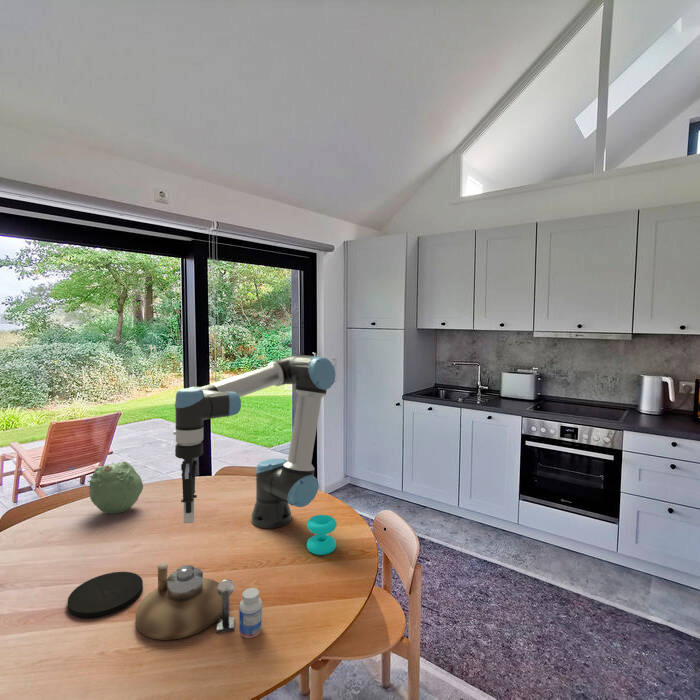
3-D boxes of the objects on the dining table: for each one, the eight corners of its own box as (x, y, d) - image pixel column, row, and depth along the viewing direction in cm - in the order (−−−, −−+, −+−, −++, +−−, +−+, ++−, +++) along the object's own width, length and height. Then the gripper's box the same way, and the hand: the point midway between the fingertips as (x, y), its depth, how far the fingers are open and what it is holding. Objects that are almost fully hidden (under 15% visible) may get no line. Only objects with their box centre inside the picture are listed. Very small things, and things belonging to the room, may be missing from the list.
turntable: (228, 578, 123) (228, 551, 123) (225, 631, 102) (225, 598, 101) (146, 588, 118) (146, 560, 117) (125, 646, 96) (124, 612, 96)
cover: (204, 579, 120) (204, 558, 120) (201, 598, 111) (201, 577, 111) (170, 583, 118) (170, 562, 117) (164, 603, 109) (164, 581, 109)
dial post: (234, 619, 107) (234, 574, 107) (233, 630, 103) (234, 583, 103) (217, 621, 106) (217, 576, 106) (216, 633, 102) (216, 586, 102)
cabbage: (150, 509, 169) (150, 461, 168) (99, 526, 154) (98, 473, 153) (132, 499, 179) (131, 453, 178) (82, 514, 164) (81, 464, 163)
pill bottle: (241, 623, 106) (241, 585, 105) (263, 622, 106) (263, 585, 106) (237, 639, 100) (237, 600, 100) (260, 638, 101) (260, 599, 100)
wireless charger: (95, 577, 124) (95, 570, 124) (154, 579, 124) (154, 572, 124) (50, 618, 107) (50, 611, 107) (119, 621, 106) (119, 614, 106)
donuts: (300, 519, 141) (322, 510, 149) (300, 548, 142) (322, 538, 149) (321, 529, 135) (342, 519, 142) (320, 560, 135) (342, 548, 143)
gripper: (178, 437, 127) (178, 513, 128) (171, 449, 114) (171, 533, 116) (204, 436, 129) (204, 511, 130) (200, 447, 116) (200, 531, 117)
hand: (188, 521), depth 123 cm, fingers closed
